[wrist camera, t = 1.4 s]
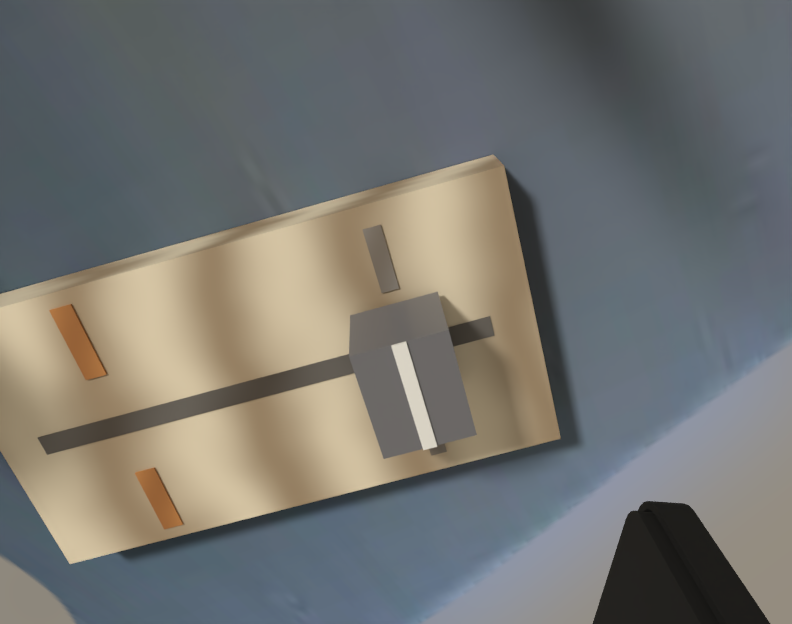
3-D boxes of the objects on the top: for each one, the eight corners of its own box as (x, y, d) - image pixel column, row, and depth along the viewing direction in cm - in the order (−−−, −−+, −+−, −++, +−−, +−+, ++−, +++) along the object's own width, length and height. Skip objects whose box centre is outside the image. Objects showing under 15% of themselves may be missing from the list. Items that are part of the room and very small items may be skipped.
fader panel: (493, 154, 31) (504, 166, 28) (548, 411, 36) (561, 439, 34) (-44, 306, 32) (-77, 329, 30) (87, 530, 38) (69, 565, 35)
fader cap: (437, 291, 30) (449, 331, 26) (463, 387, 32) (477, 436, 28) (350, 315, 30) (348, 357, 26) (380, 408, 32) (383, 460, 28)
